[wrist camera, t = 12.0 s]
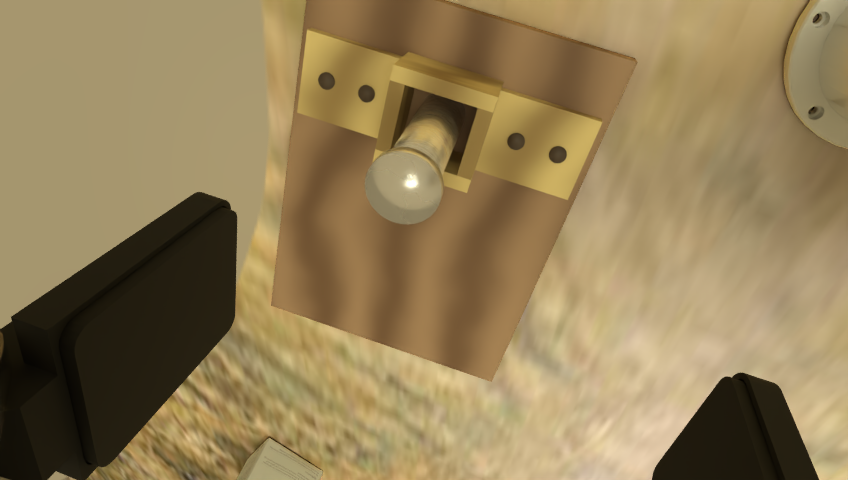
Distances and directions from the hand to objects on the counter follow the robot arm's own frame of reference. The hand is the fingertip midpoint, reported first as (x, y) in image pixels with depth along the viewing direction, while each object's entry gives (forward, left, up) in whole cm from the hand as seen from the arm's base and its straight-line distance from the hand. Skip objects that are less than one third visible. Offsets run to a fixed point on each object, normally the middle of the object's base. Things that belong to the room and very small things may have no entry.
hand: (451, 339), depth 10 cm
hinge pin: (+4, +6, -29) cm, 30 cm away
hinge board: (+4, +14, -30) cm, 33 cm away
